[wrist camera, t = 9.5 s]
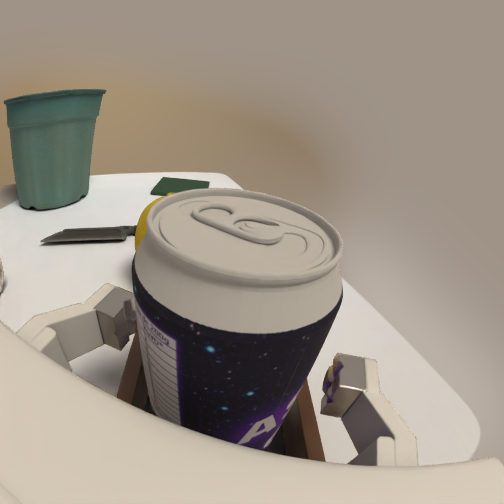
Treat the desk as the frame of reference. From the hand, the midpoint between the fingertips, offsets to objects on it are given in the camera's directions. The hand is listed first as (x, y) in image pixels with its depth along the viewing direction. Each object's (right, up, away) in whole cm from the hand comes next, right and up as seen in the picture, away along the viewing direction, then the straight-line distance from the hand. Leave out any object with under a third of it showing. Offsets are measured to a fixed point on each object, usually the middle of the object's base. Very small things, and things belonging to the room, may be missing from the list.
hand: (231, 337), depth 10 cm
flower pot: (-30, +12, +26) cm, 41 cm away
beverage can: (-1, -7, +3) cm, 7 cm away
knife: (-15, +4, +17) cm, 24 cm away
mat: (-11, +14, +36) cm, 40 cm away
